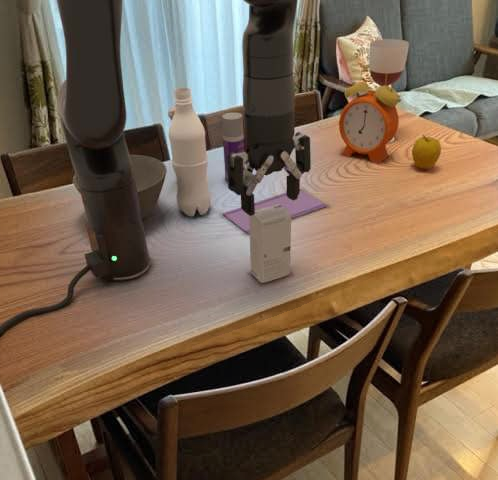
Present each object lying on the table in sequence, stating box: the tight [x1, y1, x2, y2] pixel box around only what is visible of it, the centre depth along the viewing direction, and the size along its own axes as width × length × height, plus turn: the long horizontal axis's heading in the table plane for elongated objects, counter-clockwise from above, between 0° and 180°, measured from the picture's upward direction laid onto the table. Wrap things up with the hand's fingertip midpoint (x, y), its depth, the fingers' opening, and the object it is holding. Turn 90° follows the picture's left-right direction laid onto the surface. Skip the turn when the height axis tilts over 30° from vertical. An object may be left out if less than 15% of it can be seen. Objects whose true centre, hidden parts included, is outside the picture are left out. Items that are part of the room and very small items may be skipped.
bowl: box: [72, 154, 168, 219], centre depth 112 cm, size 19×19×10 cm
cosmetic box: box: [249, 205, 292, 284], centre depth 93 cm, size 6×4×12 cm
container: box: [221, 112, 246, 184], centre depth 122 cm, size 5×5×15 cm
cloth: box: [222, 189, 328, 235], centre depth 115 cm, size 20×10×1 cm, turn 122°
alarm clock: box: [338, 68, 400, 164], centre depth 130 cm, size 13×6×20 cm, turn 53°
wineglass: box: [368, 38, 410, 144], centre depth 138 cm, size 9×10×23 cm
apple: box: [411, 134, 442, 170], centre depth 127 cm, size 6×6×8 cm
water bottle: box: [168, 86, 212, 217], centre depth 108 cm, size 7×7×25 cm
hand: (271, 205), depth 89 cm, fingers open, 8 cm apart
